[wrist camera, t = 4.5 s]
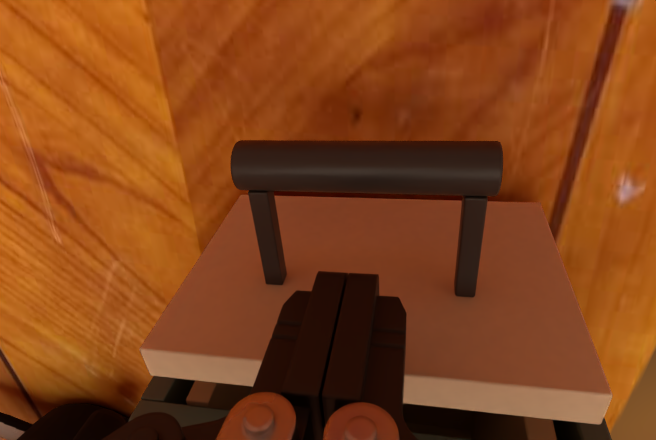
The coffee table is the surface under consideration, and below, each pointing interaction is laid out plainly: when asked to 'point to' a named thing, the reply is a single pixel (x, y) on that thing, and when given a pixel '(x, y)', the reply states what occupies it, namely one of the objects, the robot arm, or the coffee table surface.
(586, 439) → the cabinet
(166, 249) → the coffee table surface
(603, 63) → the coffee table surface
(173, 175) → the coffee table surface
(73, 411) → the mug
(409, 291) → the drawer
